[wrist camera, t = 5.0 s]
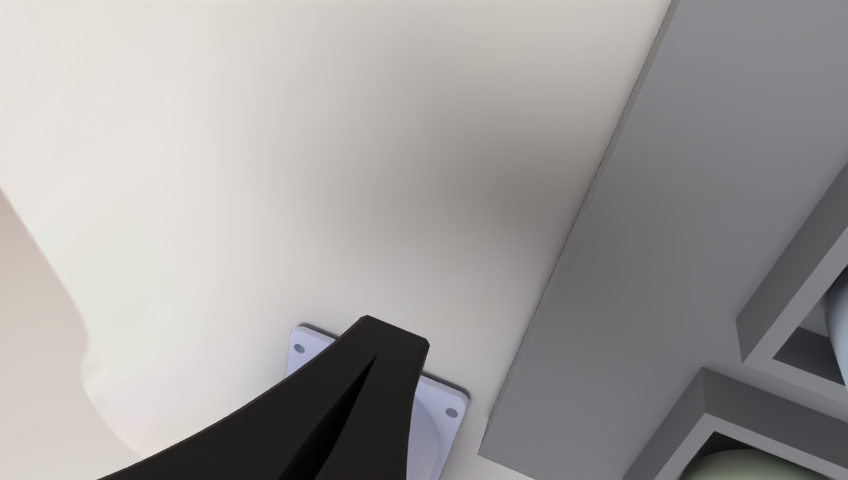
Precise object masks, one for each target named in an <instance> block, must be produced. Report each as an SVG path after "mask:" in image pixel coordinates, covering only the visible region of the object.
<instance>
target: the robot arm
mask: <svg viewBox="0 0 848 480" xmlns="http://www.w3.org/2000/svg"><path fill="white" fill-rule="evenodd" d="M301 345H302V346H301ZM429 347H430V345H429V343H428V341H427V340H426V339H425V338H423V337H420V336H418V335H416V334H413V333H411V332H408V331H406V330H403V329H401V328H398V327H396V326H393V325H391V324H388V323H386V322H384V321H381V320H379V319H376V318H374V317H371V316H369V315H366V316H363V317H361V318H360V319H359V320H358V321H357V322H355V323H354V324H353V325H352V326H351V327H350V328H349V329H348V330H347V331H345V332H344V333H343V334H342V335H341V336H340V337H339V338H337V339H333V338H331V337H328V336H326V335H324V334H321V333H319V332H316V331H314V330H311V329H309V328H307V327H303V326H298V327H296V328H295V329H294V330H293V332H292V333H291V335H290V344H289V352H288V360H287V369H286V377H285V379H284V380H282V381H281V382H280V383H278V384H277V385H275V386H274V387H272V388H270V389H269V390H267V391H266V392H264V393H263V394H261V395H260V396H258V397H257V398H255V399H254V400H252V401H251V402H249V403H248V404H246V405H245V406H243V407H241V408H240V409H238V410H236V411H235V412H233V413H231V414H230V415H228V416H226V417H225V418H223V419H221V420H220V421H218V422H216V423H214V424H212V425H211V426H209V427H207V428H205V429H203V430H202V431H200V432H198V433H196V434H194V435H192V436H191V437H189V438H187V439H185V440H183V441H181V442H179V443H177V444H175V445H173V446H171V447H169V448H167V449H165V450H163V451H161V452H159V453H157V454H155V455H153V456H151V457H148V458H146V459H144V460H142V461H140V462H138V463H136V464H133V465H131V466H129V467H127V468H124V469H122V470H120V471H117V472H115V473H112V474H110V475H107V476H105V477H103V478H100V479H98V480H438V479H439V477H440V474H441V472H442V469H443V467H444V464H445V462H446V459H447V457H448V454H449V452H450V449H451V447H452V444H453V442H454V439H455V437H456V434H457V432H458V429H459V427H460V424H461V422H462V419H463V417H464V414H465V412H466V409H467V407H468V403H469V400H468V398H467V396H466V395H465V394H464V393H462V392H460V391H458V390H456V389H453V388H451V387H449V386H446V385H444V384H441V383H439V382H437V381H434V380H432V379H429V378H427V377H424V376H422V375H421V372H422V369H423V366H424V363H425V360H426V356H427V353H428V350H429ZM451 408H452V409H454V410H452V409H451ZM455 410H456V411H455Z"/></svg>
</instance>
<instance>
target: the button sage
mask: <svg viewBox="0 0 848 480" xmlns="http://www.w3.org/2000/svg"><path fill="white" fill-rule="evenodd" d="M679 480H828V479H827V478H826V477H824V476H823V475H822V474H821V473H819V472H816V471H814V470H811V469H809V468H806V467H804V466H801V465H799V464H796V463H794V462H791V461H789V460H786V459H784V458H781V457H779V456H776V455H774V454H771V453H769V452H766V451H763V450H753V449H737V450H727V451H721V452H717V453H713V454H710V455H707V456H705V457H702V458H700V459H699V460H697V461H695V462H694V463H692V464H691V465H690V466H688V467H687V468H686V469H685V470H684V472H683V473H682V475H681V476H680V478H679Z"/></svg>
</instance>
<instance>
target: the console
mask: <svg viewBox="0 0 848 480" xmlns="http://www.w3.org/2000/svg"><path fill="white" fill-rule="evenodd" d="M847 269H848V0H672V3H671V5H670V7H669V9H668V12H667V14H666V16H665V18H664V21H663V23H662V25H661V28H660V30H659V32H658V34H657V37H656V39H655V41H654V43H653V46H652V48H651V50H650V53H649V55H648V57H647V59H646V62H645V64H644V66H643V69H642V71H641V73H640V75H639V78H638V80H637V82H636V84H635V87H634V89H633V91H632V94H631V96H630V98H629V100H628V103H627V105H626V107H625V109H624V112H623V114H622V116H621V119H620V121H619V123H618V125H617V128H616V130H615V132H614V134H613V137H612V139H611V141H610V144H609V146H608V148H607V150H606V153H605V155H604V157H603V159H602V162H601V164H600V166H599V169H598V171H597V173H596V175H595V178H594V180H593V182H592V184H591V187H590V189H589V191H588V194H587V196H586V198H585V200H584V203H583V205H582V207H581V210H580V212H579V214H578V216H577V219H576V221H575V223H574V225H573V228H572V230H571V232H570V235H569V237H568V239H567V241H566V244H565V246H564V248H563V250H562V253H561V255H560V257H559V260H558V262H557V264H556V266H555V269H554V271H553V273H552V275H551V278H550V280H549V282H548V285H547V287H546V289H545V291H544V294H543V296H542V298H541V300H540V303H539V305H538V307H537V310H536V312H535V314H534V316H533V319H532V321H531V323H530V325H529V328H528V330H527V332H526V335H525V337H524V339H523V341H522V344H521V346H520V348H519V351H518V353H517V355H516V357H515V360H514V362H513V364H512V366H511V369H510V371H509V373H508V376H507V378H506V380H505V382H504V385H503V387H502V389H501V391H500V394H499V396H498V398H497V401H496V403H495V405H494V407H493V410H492V412H491V414H490V416H489V420H488V423H487V426H486V429H485V432H484V436H483V439H482V442H481V445H480V448H479V451H478V455H480V456H482V457H485V458H487V459H489V460H492V461H494V462H496V463H499V464H501V465H503V466H505V467H508V468H510V469H512V470H515V471H517V472H519V473H522V474H524V475H526V476H529V477H531V478H533V479H536V480H679V478H680V476H681V475H682V473H683V472H684V470H685V469H686V468H687V467H688V466H690V465H691V464H692V463H694V462H695V461H697V460H699V459H700V458H702V457H705V456H707V455H710V454H713V453H717V452H721V451H727V450H737V449H753V450H763V451H766V452H769V453H771V454H774V455H776V456H779V457H781V458H784V459H786V460H789V461H791V462H794V463H796V464H799V465H801V466H804V467H806V468H809V469H811V470H814V471H816V472H819V473H821V474H822V475H823V476H824V477H826V478H827V479H828V480H848V391H847V388H846V385H845V382H844V379H843V376H842V373H841V371H840V368H839V365H838V362H837V359H836V356H835V353H834V350H833V347H832V344H831V341H830V338H829V335H828V332H827V328H826V324H825V307H826V303H827V300H828V296H829V294H830V292H831V290H832V288H833V286H834V285H835V283H836V282H837V280H838V279H839V278H840V276H841V275H842V274H843V273H844V272H845V271H846V270H847Z"/></svg>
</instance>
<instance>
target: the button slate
mask: <svg viewBox="0 0 848 480" xmlns="http://www.w3.org/2000/svg"><path fill="white" fill-rule="evenodd" d="M825 324H826V328H827V332H828V335H829V338H830V341H831V344H832V347H833V350H834V353H835V356H836V359H837V362H838V365H839V368H840V371H841V373H842V376H843V379H844V382H845V385H846V388H847V391H848V269H847V270H846V271H845V272H844V273H843V274H842V275H841V276H840V278H839V279H838V280H837V282H836V283H835V285H834V286H833V288H832V290H831V292H830V294H829V296H828V300H827V303H826V307H825Z"/></svg>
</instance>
